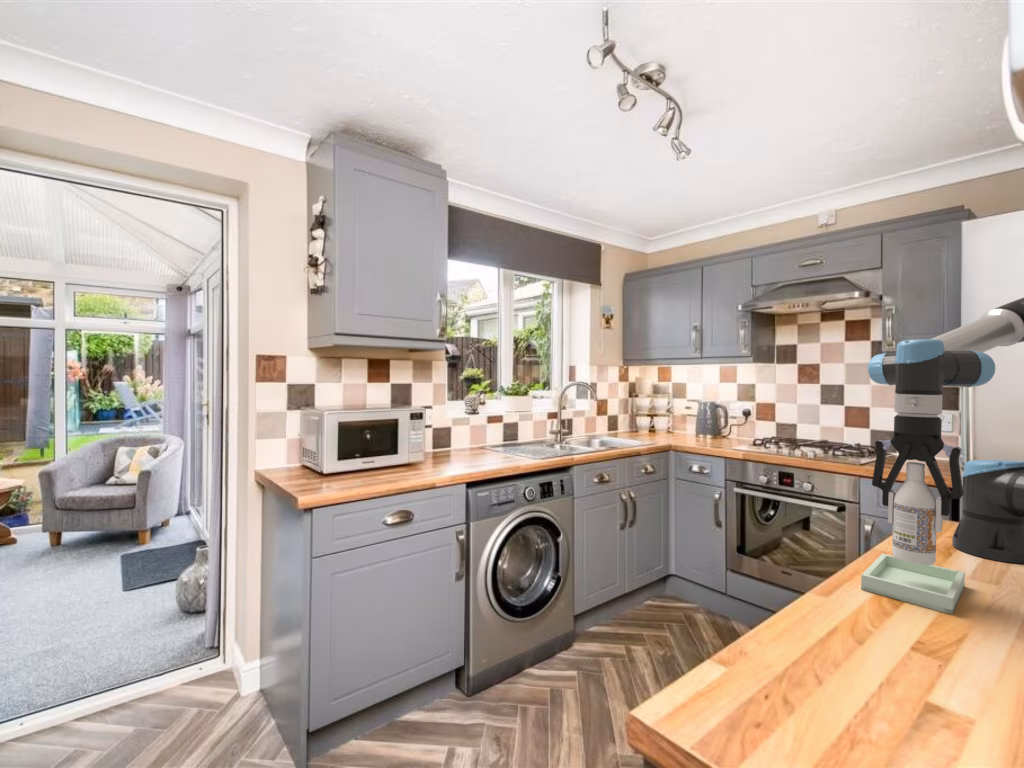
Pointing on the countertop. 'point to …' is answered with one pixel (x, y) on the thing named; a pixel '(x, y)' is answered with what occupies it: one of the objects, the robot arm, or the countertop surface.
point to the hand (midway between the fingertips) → (914, 526)
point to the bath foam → (914, 519)
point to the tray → (915, 583)
